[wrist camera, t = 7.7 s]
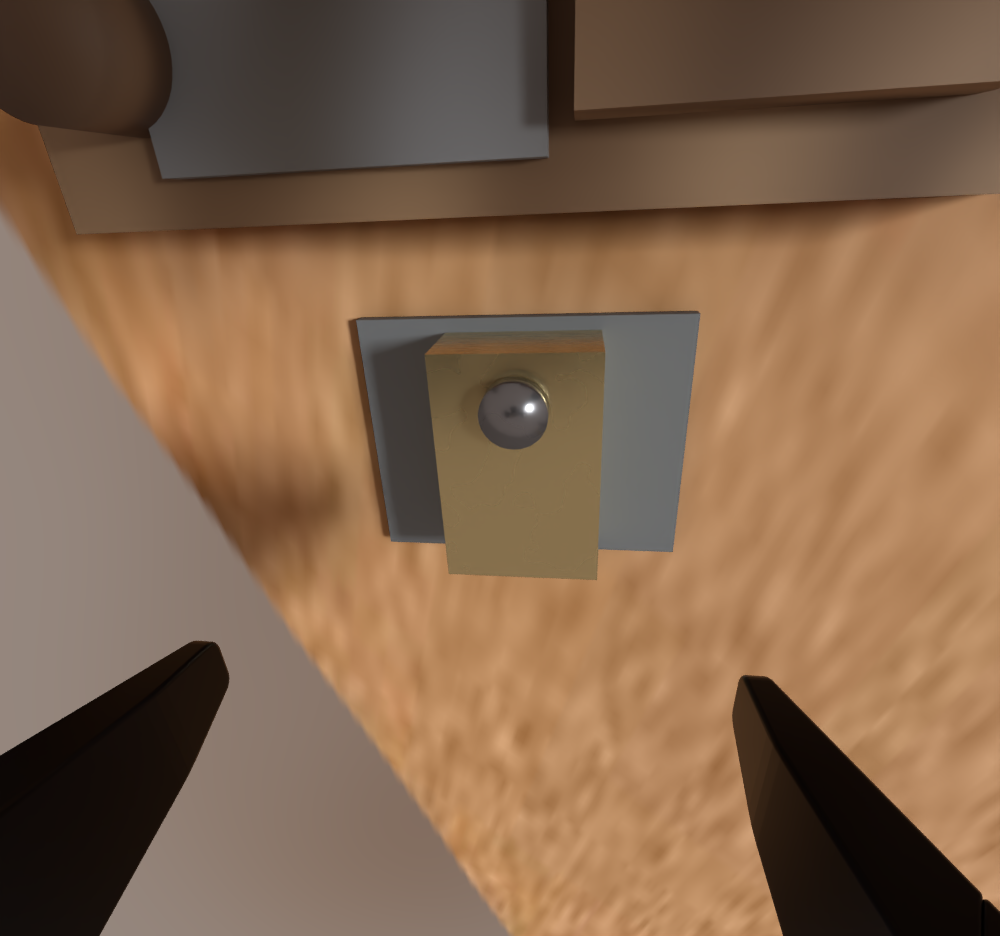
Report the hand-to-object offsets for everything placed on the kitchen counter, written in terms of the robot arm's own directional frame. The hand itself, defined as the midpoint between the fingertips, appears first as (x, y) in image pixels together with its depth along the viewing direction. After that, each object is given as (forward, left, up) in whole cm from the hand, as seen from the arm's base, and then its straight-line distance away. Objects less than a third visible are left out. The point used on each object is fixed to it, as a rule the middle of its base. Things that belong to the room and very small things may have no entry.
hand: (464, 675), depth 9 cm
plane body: (-1, -10, -10) cm, 14 cm away
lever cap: (0, 0, -10) cm, 10 cm away
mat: (0, 0, -10) cm, 10 cm away
